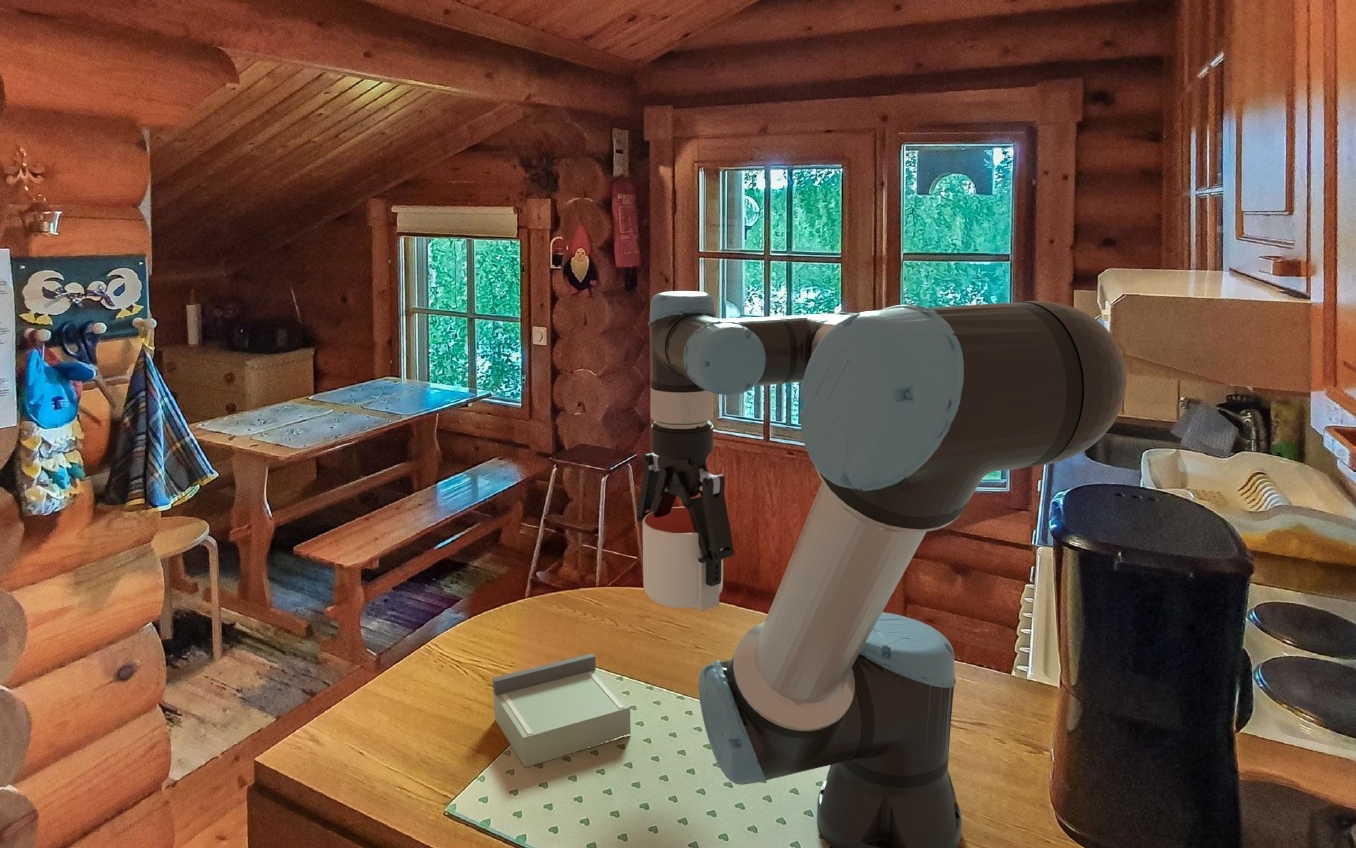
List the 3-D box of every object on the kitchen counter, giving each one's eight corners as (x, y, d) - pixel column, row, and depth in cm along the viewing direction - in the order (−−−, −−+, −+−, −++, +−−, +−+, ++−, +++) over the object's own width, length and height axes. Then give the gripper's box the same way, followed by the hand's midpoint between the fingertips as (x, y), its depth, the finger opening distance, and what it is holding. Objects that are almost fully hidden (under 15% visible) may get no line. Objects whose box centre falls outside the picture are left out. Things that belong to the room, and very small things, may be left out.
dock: (630, 735, 115) (629, 693, 114) (524, 767, 109) (522, 722, 107) (593, 693, 126) (592, 653, 124) (495, 719, 119) (492, 678, 118)
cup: (721, 613, 109) (722, 535, 107) (639, 610, 110) (638, 533, 108) (723, 579, 119) (724, 507, 117) (647, 577, 120) (646, 505, 117)
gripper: (767, 435, 102) (764, 617, 108) (655, 401, 120) (657, 558, 126) (714, 445, 98) (713, 634, 104) (606, 408, 116) (610, 570, 121)
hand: (682, 592), depth 115 cm, fingers closed on cup, 10 cm apart
